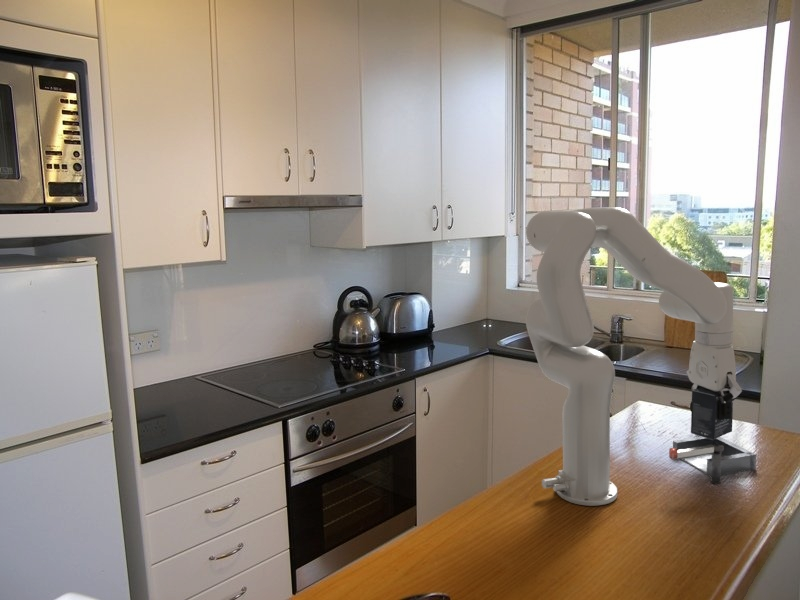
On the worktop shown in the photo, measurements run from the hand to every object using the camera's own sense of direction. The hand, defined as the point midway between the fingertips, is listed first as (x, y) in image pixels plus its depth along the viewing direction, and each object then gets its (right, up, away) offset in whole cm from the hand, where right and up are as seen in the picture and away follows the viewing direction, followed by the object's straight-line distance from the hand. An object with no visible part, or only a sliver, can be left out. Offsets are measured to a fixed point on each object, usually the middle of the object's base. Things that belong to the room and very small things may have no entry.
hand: (712, 412), depth 142 cm
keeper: (+1, -12, 0) cm, 12 cm away
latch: (-9, -7, -10) cm, 15 cm away
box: (0, -5, +1) cm, 5 cm away
